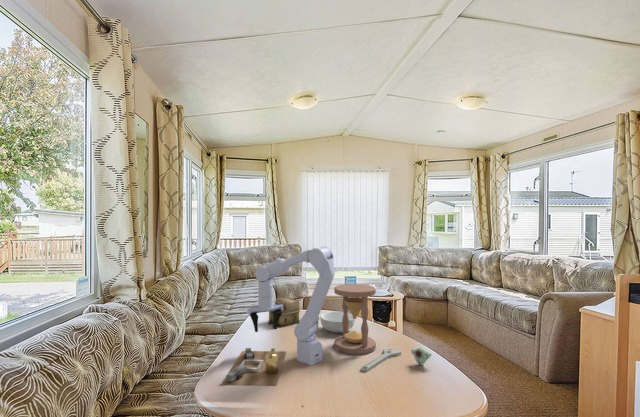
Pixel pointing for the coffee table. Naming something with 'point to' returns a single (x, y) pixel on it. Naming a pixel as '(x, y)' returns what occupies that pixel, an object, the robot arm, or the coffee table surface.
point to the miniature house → (286, 312)
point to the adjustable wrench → (380, 359)
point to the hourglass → (354, 339)
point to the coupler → (271, 362)
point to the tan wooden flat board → (253, 369)
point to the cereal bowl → (335, 321)
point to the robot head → (420, 355)
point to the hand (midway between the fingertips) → (265, 330)
